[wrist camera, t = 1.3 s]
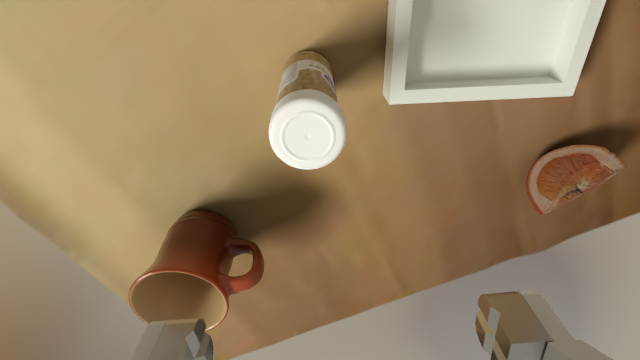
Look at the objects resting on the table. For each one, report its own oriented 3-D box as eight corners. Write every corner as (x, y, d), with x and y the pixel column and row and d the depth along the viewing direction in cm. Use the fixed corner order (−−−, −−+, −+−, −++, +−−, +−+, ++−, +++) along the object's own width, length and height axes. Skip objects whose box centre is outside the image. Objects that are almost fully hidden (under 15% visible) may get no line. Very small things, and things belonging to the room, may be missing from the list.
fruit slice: (582, 121, 35) (621, 143, 30) (601, 166, 38) (639, 191, 33) (504, 168, 37) (529, 194, 33) (527, 207, 40) (553, 235, 36)
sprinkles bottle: (342, 73, 31) (364, 134, 20) (309, 110, 33) (311, 185, 21) (304, 37, 30) (303, 81, 18) (270, 77, 31) (251, 141, 20)
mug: (187, 265, 43) (156, 341, 34) (153, 209, 38) (108, 281, 30) (280, 245, 42) (274, 319, 33) (257, 186, 37) (242, 253, 28)
